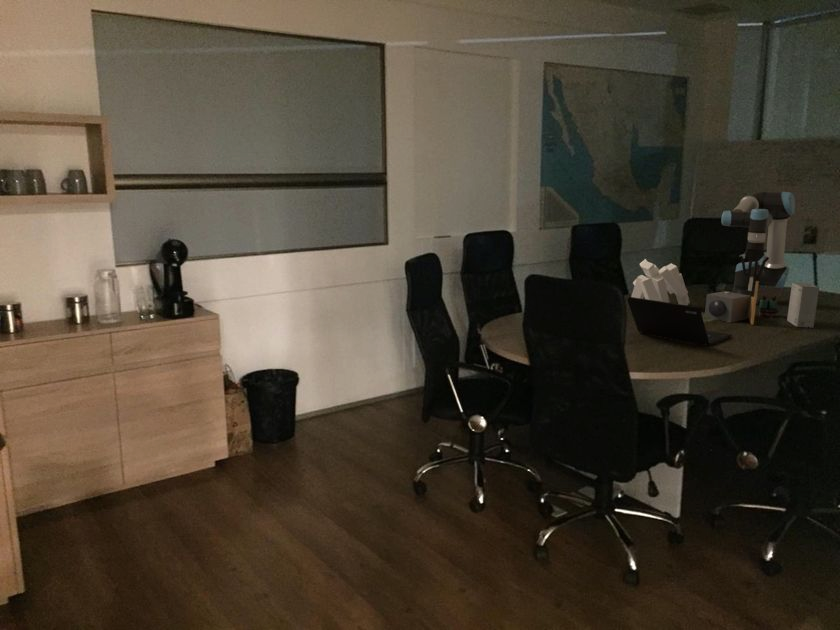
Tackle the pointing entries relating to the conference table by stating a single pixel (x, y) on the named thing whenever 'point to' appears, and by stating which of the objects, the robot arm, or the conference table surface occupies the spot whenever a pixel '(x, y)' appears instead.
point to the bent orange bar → (753, 304)
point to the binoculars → (768, 307)
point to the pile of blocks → (660, 284)
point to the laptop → (672, 321)
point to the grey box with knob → (727, 306)
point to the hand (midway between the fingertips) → (749, 290)
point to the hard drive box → (803, 304)
